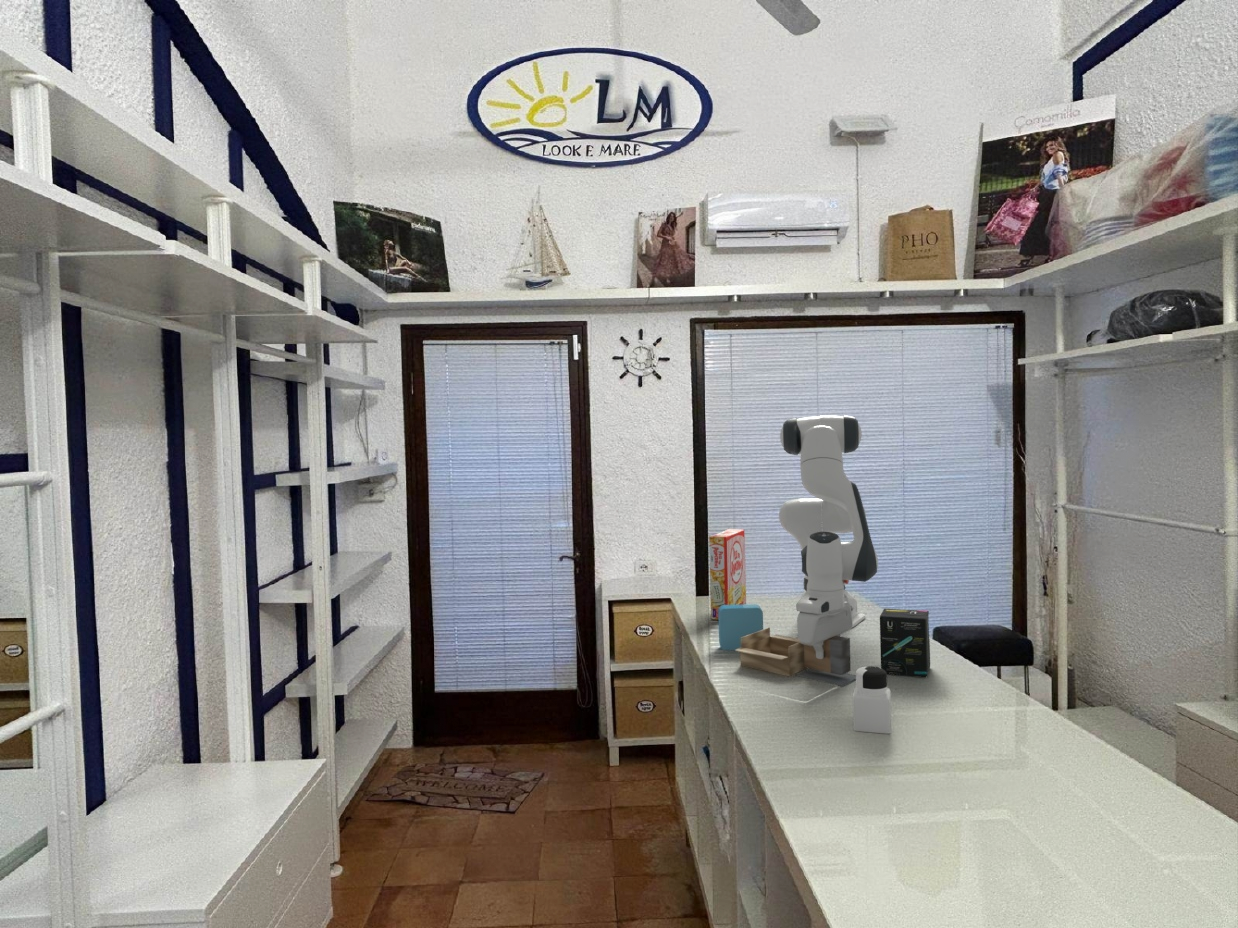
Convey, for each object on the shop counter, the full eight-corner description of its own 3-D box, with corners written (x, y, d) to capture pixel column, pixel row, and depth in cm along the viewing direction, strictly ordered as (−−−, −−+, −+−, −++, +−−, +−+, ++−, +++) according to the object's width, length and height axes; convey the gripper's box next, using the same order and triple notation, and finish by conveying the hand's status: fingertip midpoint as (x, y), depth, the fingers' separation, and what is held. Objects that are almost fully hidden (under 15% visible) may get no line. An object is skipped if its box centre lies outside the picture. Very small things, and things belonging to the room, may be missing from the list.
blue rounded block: (762, 646, 228) (760, 603, 228) (764, 650, 224) (762, 607, 223) (719, 646, 229) (718, 604, 228) (720, 651, 225) (719, 608, 224)
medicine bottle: (891, 721, 168) (889, 664, 168) (890, 734, 161) (889, 675, 161) (855, 718, 170) (853, 662, 170) (853, 731, 164) (852, 672, 163)
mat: (813, 667, 206) (813, 666, 206) (860, 677, 197) (860, 675, 197) (794, 676, 200) (794, 674, 200) (842, 686, 191) (842, 685, 191)
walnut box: (814, 663, 204) (813, 631, 203) (850, 670, 197) (849, 637, 196) (804, 667, 201) (803, 635, 200) (841, 675, 194) (840, 641, 193)
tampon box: (930, 667, 203) (929, 609, 203) (927, 678, 195) (926, 618, 194) (884, 663, 208) (883, 607, 207) (880, 674, 200) (879, 615, 199)
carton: (775, 652, 221) (774, 625, 221) (823, 661, 211) (822, 633, 211) (734, 668, 208) (733, 639, 208) (783, 679, 198) (782, 649, 197)
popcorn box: (728, 621, 258) (726, 536, 257) (710, 619, 261) (707, 536, 260) (747, 607, 277) (744, 528, 276) (729, 606, 279) (727, 528, 278)
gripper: (835, 590, 207) (836, 643, 208) (791, 605, 193) (793, 662, 194) (858, 593, 203) (859, 647, 204) (815, 608, 188) (816, 667, 189)
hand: (827, 655), depth 199 cm, fingers closed on walnut box, 4 cm apart
